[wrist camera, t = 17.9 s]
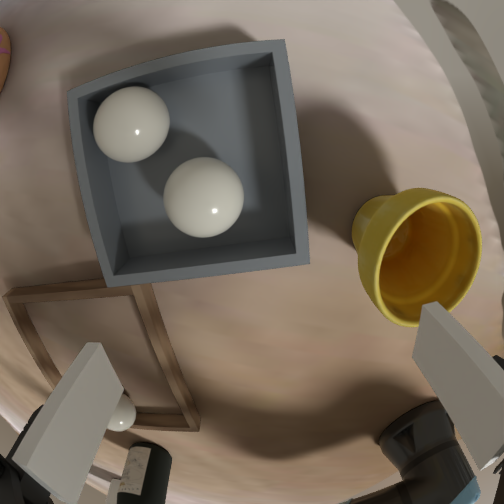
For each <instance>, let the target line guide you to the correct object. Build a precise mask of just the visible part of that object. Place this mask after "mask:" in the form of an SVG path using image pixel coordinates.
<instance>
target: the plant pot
mask: <svg viewBox="0 0 504 504" xmlns="http://www.w3.org/2000/svg"><path fill="white" fill-rule="evenodd" d="M352 240H353V243H354V246H355V249H356V251H357V254H358V270H359V275H360V279H361V282H362V285H363V287H364V289H365V290H366V292H367V294H368V295H369V297H370V298H371V300H372V301H373V303H374V304H375V306H376V307H377V308H378V310H379V311H380V312H381V313H382V314H383V315H384V316H385V317H386V318H387V319H388V320H390V321H391V322H393V323H395V324H397V325H400V326H405V327H419V322H420V316H421V310H422V305H424V304H428V303H432V302H436V301H437V302H438V303H439V304H440V305H441V306H443V307H444V308H445V309H446V310H447V311H448V312H451V311H452V310H453V309H454V308H455V307H456V306H457V305H458V304H459V303H460V302H461V300H462V299H463V298H464V297H465V295H466V294H467V292H468V291H469V289H470V287H471V285H472V283H473V281H474V279H475V277H476V274H477V271H478V268H479V265H480V260H481V253H482V236H481V231H480V227H479V224H478V221H477V219H476V217H475V215H474V213H473V212H472V210H471V209H470V208H469V207H468V206H467V205H466V204H465V203H464V202H463V201H461V200H460V199H458V198H456V197H454V196H451V195H448V194H446V193H442V192H439V191H435V190H431V189H426V188H413V189H408V190H405V191H402V192H400V193H398V194H396V195H383V196H378V197H375V198H372V199H370V200H369V201H367V202H366V203H365V204H364V205H363V206H362V207H361V208H360V209H359V211H358V212H357V214H356V216H355V218H354V221H353V225H352Z"/></svg>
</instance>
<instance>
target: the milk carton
mask: <svg viewBox="0 0 504 504" xmlns="http://www.w3.org/2000/svg"><path fill="white" fill-rule="evenodd" d="M120 481H121V480H119V479H113V478H112V480H111V484H110V487H109V491H108V495H107V498H106V502H105V504H117V492H118V488H119V485H120Z"/></svg>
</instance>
